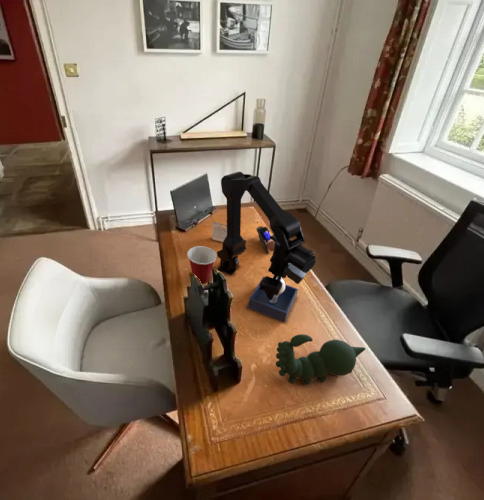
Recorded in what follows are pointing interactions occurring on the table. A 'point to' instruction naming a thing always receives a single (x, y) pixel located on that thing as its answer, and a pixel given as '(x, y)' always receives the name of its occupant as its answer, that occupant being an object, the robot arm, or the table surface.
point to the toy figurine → (316, 359)
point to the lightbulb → (279, 292)
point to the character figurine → (265, 238)
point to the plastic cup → (202, 262)
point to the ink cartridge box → (219, 231)
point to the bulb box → (273, 310)
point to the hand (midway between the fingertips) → (274, 291)
